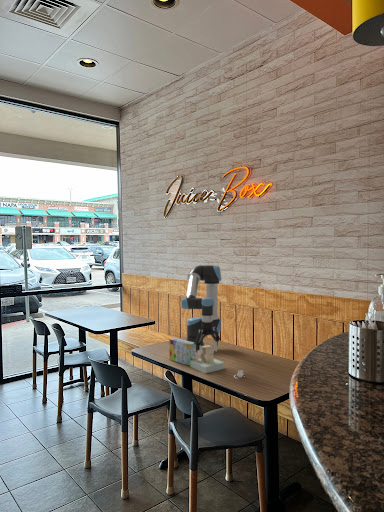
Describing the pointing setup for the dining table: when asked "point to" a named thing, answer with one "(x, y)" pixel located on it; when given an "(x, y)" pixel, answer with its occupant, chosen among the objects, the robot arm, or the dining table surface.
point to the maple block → (207, 354)
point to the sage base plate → (207, 365)
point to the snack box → (182, 351)
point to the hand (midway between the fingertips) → (207, 352)
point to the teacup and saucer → (239, 373)
